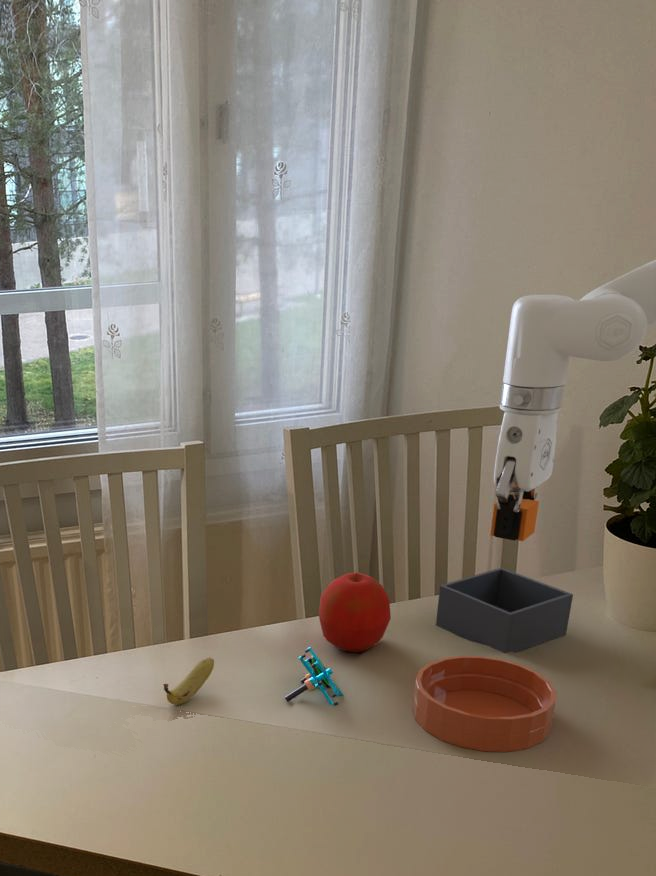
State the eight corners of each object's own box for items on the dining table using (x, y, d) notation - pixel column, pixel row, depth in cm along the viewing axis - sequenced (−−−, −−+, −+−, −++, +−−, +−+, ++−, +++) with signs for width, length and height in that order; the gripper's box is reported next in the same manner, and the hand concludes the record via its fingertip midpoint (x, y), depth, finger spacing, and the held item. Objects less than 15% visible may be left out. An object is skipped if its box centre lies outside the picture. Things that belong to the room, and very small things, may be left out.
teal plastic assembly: (350, 702, 113) (315, 650, 113) (303, 732, 115) (268, 681, 114) (344, 682, 125) (313, 636, 125) (302, 709, 126) (270, 663, 126)
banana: (204, 680, 124) (204, 654, 123) (219, 685, 123) (219, 658, 121) (157, 709, 117) (156, 682, 116) (172, 715, 116) (171, 687, 114)
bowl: (475, 678, 123) (480, 645, 121) (578, 730, 110) (585, 694, 108) (385, 711, 116) (388, 676, 114) (484, 771, 103) (490, 733, 101)
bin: (495, 605, 145) (501, 567, 142) (566, 634, 135) (573, 594, 132) (435, 624, 139) (439, 585, 136) (504, 656, 129) (510, 614, 126)
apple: (315, 630, 138) (318, 559, 133) (383, 631, 137) (388, 559, 132) (319, 660, 129) (322, 585, 124) (391, 662, 128) (398, 585, 123)
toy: (502, 526, 128) (506, 495, 126) (534, 532, 125) (539, 500, 123) (490, 535, 125) (494, 503, 123) (522, 541, 122) (527, 509, 120)
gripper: (538, 412, 109) (518, 556, 117) (582, 390, 121) (560, 521, 129) (477, 406, 113) (461, 544, 121) (525, 385, 125) (508, 512, 133)
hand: (512, 531), depth 125 cm, fingers closed on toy, 4 cm apart
